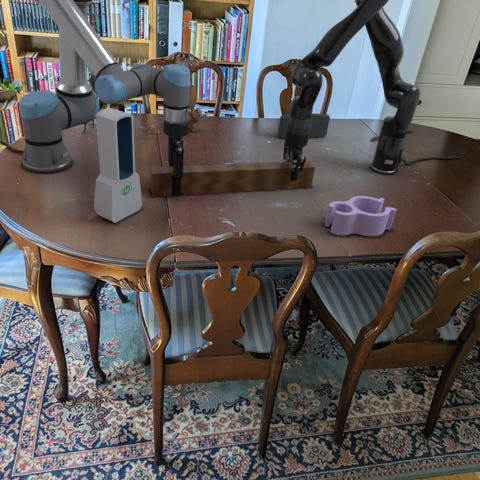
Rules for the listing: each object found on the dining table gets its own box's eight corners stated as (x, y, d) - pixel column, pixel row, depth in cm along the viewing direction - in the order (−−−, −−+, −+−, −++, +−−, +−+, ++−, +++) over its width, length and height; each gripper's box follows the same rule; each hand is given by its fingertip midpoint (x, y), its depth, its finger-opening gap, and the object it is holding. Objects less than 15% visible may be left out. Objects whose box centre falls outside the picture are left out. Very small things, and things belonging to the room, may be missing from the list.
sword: (408, 129, 227) (409, 127, 226) (413, 131, 225) (414, 129, 224) (366, 140, 211) (366, 138, 210) (371, 143, 209) (371, 140, 208)
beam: (152, 196, 147) (152, 173, 143) (150, 189, 151) (150, 166, 147) (311, 187, 163) (315, 166, 159) (305, 181, 167) (309, 160, 163)
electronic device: (112, 224, 131) (106, 120, 115) (93, 216, 134) (84, 113, 118) (143, 208, 140) (140, 109, 124) (124, 200, 143) (119, 103, 127)
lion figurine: (199, 126, 204) (200, 106, 199) (202, 131, 200) (204, 110, 195) (166, 128, 199) (166, 107, 194) (169, 132, 195) (169, 111, 190)
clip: (337, 240, 135) (342, 219, 131) (318, 218, 145) (322, 198, 141) (395, 233, 141) (402, 213, 137) (373, 213, 151) (378, 194, 147)
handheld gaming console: (323, 134, 210) (328, 113, 204) (326, 137, 208) (331, 115, 202) (276, 136, 203) (280, 113, 197) (279, 138, 201) (282, 115, 195)
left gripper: (195, 131, 132) (192, 203, 145) (182, 110, 147) (181, 177, 159) (168, 131, 130) (168, 204, 143) (158, 110, 144) (159, 178, 157)
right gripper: (317, 137, 147) (308, 186, 157) (300, 122, 159) (292, 168, 168) (296, 138, 145) (287, 187, 154) (279, 122, 157) (273, 168, 166)
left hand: (174, 190), depth 151 cm, fingers closed on beam, 5 cm apart
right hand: (290, 176), depth 161 cm, fingers closed on beam, 5 cm apart
